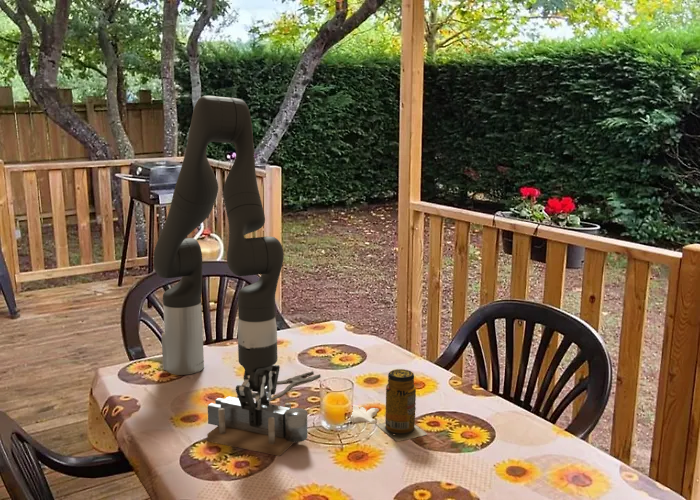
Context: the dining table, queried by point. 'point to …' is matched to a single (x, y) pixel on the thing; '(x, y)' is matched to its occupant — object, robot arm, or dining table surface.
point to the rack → (249, 437)
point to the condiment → (401, 406)
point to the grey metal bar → (285, 419)
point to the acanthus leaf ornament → (363, 414)
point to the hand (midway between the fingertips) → (259, 422)
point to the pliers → (296, 382)
